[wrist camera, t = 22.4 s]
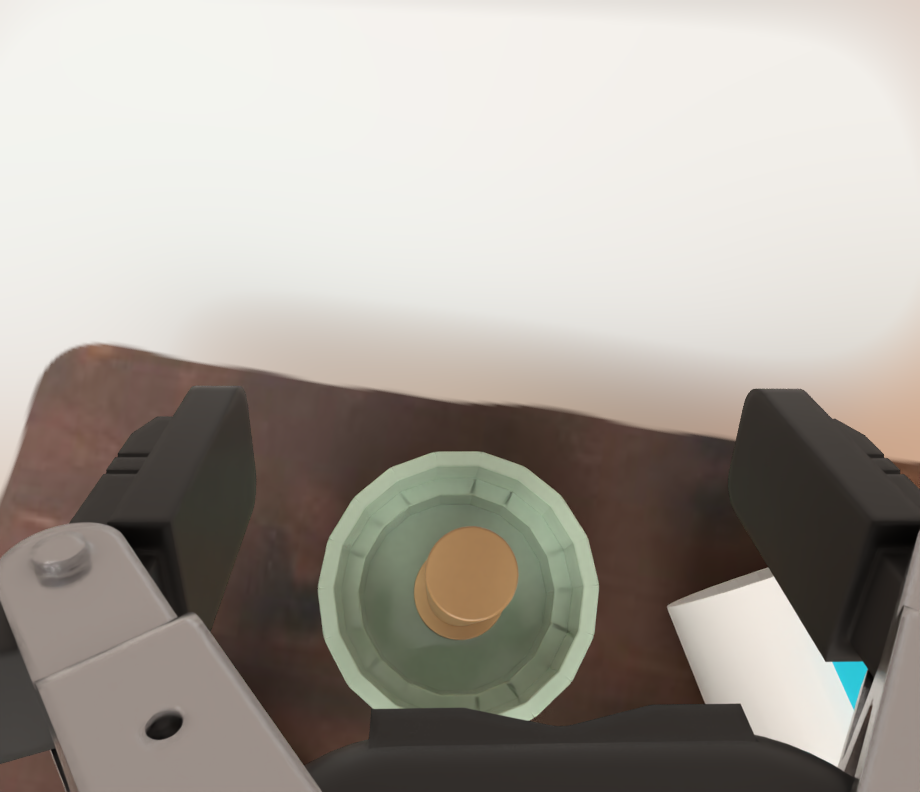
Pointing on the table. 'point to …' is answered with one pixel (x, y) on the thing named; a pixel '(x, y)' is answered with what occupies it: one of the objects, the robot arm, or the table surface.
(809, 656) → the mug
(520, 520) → the bowl
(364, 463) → the table surface
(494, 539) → the muddler
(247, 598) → the table surface
